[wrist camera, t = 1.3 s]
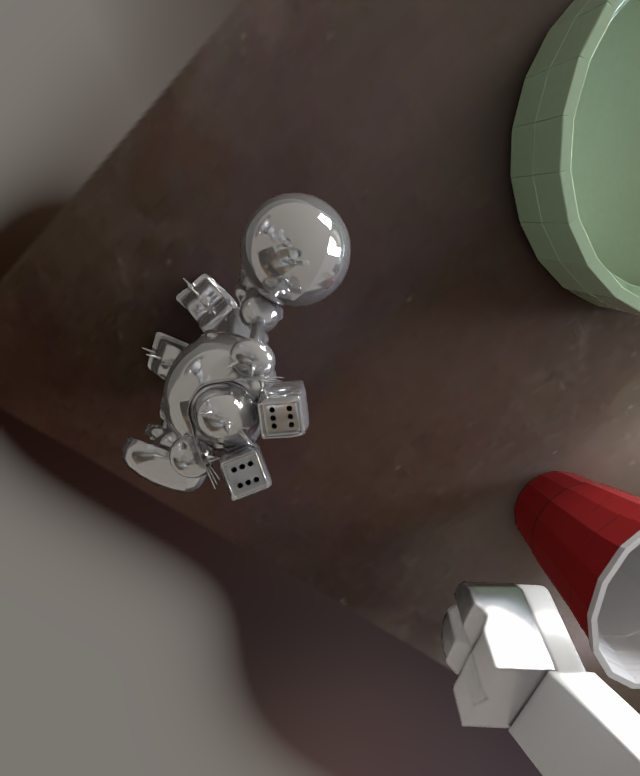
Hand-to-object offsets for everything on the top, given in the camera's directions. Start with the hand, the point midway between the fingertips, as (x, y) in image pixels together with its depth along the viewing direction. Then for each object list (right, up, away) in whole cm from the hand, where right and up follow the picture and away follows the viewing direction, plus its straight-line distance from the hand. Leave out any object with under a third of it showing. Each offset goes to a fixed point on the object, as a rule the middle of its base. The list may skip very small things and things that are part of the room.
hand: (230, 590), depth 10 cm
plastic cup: (+18, -5, +32) cm, 38 cm away
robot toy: (-4, +8, +24) cm, 25 cm away
